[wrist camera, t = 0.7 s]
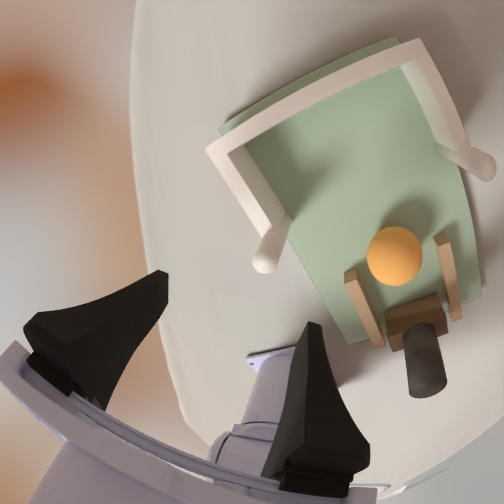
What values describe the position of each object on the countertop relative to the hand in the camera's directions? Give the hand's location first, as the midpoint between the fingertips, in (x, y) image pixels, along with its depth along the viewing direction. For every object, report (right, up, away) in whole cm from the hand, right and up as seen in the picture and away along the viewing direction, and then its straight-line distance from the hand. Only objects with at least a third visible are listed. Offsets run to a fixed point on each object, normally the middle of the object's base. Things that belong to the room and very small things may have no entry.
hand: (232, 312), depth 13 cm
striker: (+15, -2, +7) cm, 16 cm away
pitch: (+11, +5, +6) cm, 13 cm away
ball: (+10, +3, +4) cm, 11 cm away
